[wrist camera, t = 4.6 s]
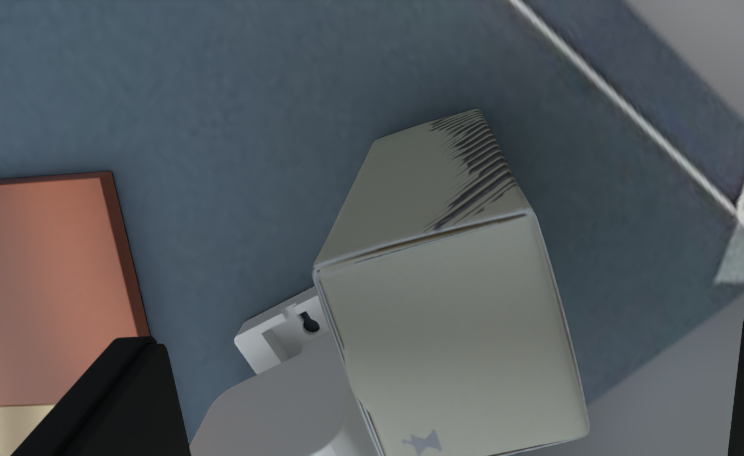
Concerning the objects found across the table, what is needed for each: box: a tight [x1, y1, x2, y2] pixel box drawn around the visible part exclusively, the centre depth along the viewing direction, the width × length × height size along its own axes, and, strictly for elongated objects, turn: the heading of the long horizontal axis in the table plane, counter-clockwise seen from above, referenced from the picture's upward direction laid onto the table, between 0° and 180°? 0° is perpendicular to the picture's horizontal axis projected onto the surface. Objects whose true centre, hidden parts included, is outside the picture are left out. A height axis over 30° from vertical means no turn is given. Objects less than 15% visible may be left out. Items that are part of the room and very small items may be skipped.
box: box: [312, 109, 590, 456], centre depth 18 cm, size 5×4×13 cm
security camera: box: [189, 286, 378, 456], centre depth 22 cm, size 6×7×10 cm
